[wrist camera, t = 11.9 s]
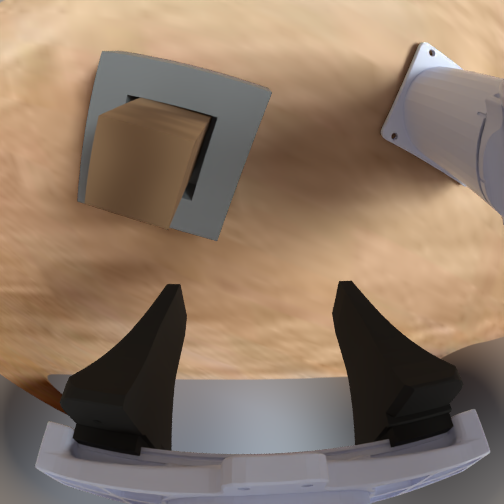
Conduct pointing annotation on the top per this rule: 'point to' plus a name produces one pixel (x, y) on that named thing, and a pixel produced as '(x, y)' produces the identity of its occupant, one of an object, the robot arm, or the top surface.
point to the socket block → (194, 98)
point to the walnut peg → (144, 159)
